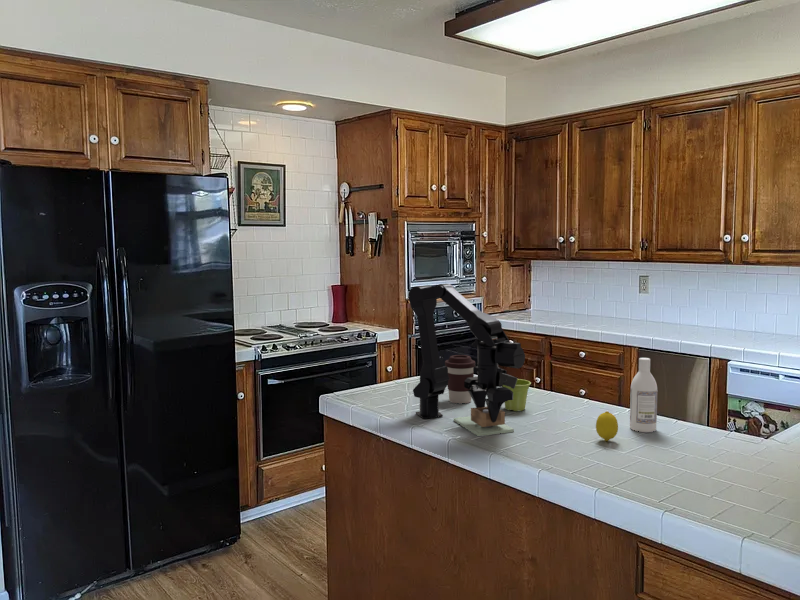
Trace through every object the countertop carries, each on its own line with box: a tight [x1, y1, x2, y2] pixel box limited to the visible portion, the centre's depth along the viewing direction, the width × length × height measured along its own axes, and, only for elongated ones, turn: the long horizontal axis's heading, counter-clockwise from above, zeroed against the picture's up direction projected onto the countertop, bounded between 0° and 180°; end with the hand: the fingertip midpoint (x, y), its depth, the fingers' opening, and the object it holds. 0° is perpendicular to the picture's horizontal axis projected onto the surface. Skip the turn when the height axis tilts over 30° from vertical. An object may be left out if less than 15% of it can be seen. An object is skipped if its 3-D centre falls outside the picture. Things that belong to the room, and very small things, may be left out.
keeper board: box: [453, 409, 515, 437], centre depth 181 cm, size 16×11×5 cm
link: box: [470, 406, 506, 427], centre depth 179 cm, size 7×7×4 cm
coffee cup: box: [444, 354, 476, 405], centre depth 209 cm, size 10×10×15 cm
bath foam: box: [629, 357, 658, 433], centre depth 176 cm, size 7×7×20 cm
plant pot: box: [503, 378, 532, 412], centre depth 200 cm, size 9×9×9 cm
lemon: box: [595, 410, 619, 442], centre depth 167 cm, size 6×6×8 cm
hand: (487, 418), depth 179 cm, fingers closed on link, 7 cm apart
